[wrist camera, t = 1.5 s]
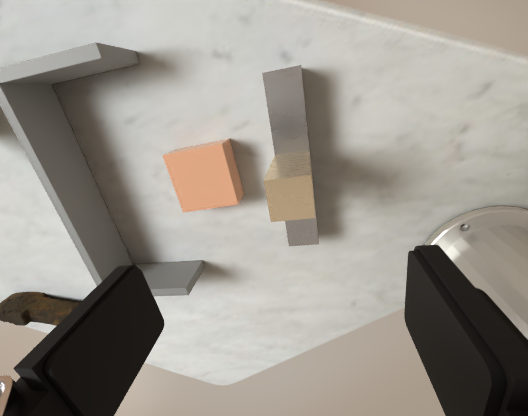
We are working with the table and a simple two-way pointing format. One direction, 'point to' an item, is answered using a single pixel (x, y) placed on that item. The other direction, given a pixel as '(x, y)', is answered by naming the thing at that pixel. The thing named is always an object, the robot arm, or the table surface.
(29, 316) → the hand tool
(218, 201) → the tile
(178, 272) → the box
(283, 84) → the scraper
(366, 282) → the table surface
